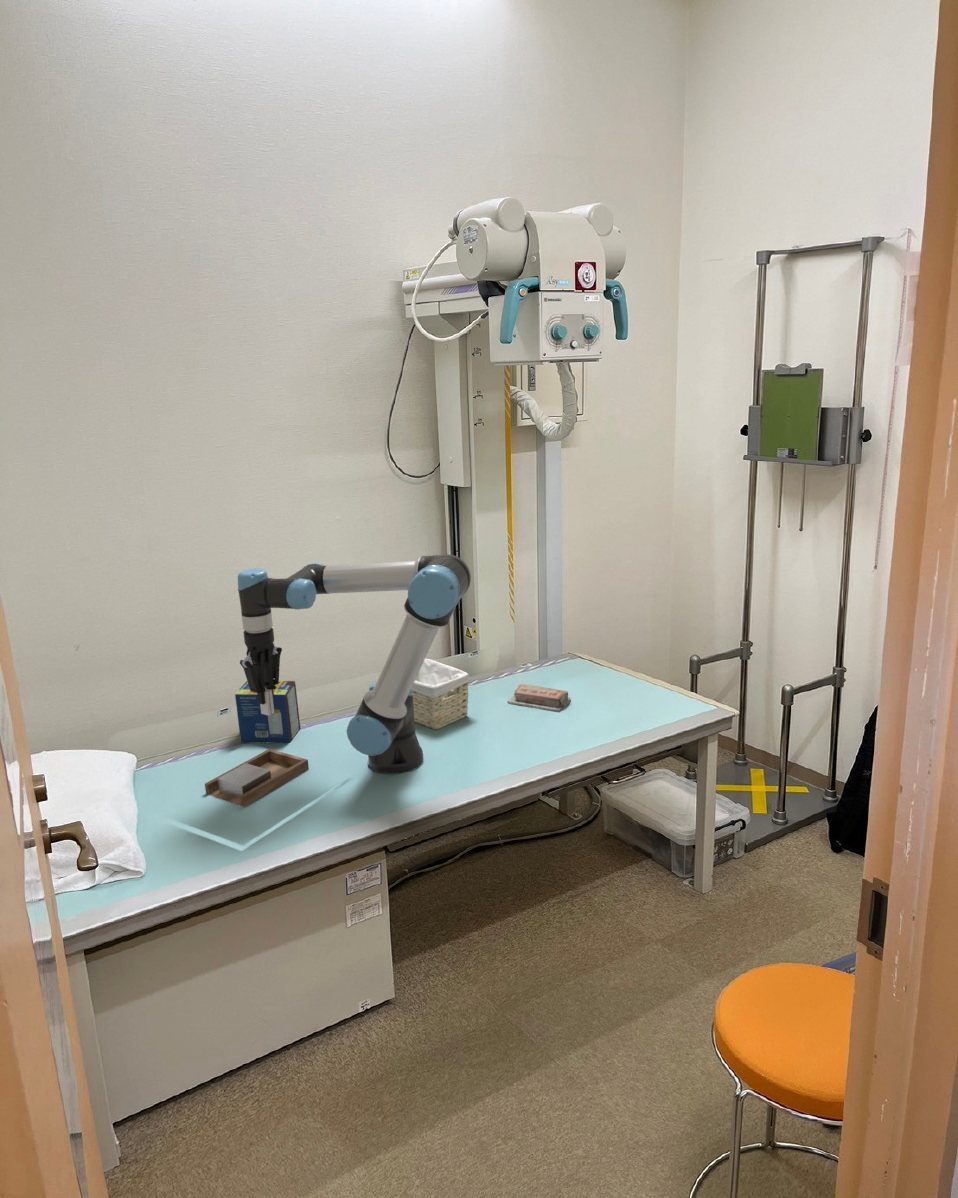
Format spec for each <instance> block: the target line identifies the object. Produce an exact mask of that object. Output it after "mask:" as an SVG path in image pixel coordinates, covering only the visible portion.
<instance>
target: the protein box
mask: <svg viewBox="0 0 958 1198" xmlns="http://www.w3.org/2000/svg"><path fill="white" fill-rule="evenodd" d="M275 686H276V689H273V692H274V699H273V705H274V713H273V714H271V715H269V716H268V715H264V714H261V707H260V704H259V702H258V695H257V693H255V692H251V691H250V688H249V685H248V681H245V683H243V685H242V686H241V687H240V688H238V690H237V691H236V692H235V693H234V697H235V707H236V713H237V721H238V731H239V738H240V743H247V742H254V743H255V742H260V743H263V742H264V743H263V744H267V742H268V744H291V743H292V741H293V739H294V738H295V736H296V735H297V734H298V732H299V730H300V729H301V722H300V715H299V714H300V713H299V703H298V694H297V685H296V681H295V680H286V681H284V680H279V683H278V684H276V685H275ZM265 688H266V687H265ZM254 743H253V744H254ZM260 743H259V744H260ZM255 744H256V743H255Z"/></svg>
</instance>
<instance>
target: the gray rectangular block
mask: <svg viewBox="0 0 958 1198" xmlns="http://www.w3.org/2000/svg"><path fill="white" fill-rule="evenodd" d="M270 778H271V772H270V770H267V769H264V768H261V767H257V766H254V765H251V764H247V763H245V764H243V765H242V766H240V767H238V768H236V769H234V770H232V771H231V772H229V773H227V774H225V775H223V776H221V777H219V778H218V779H217V780H218V788H219V793H222V794H225V795H228V796H231V797H234V798H237V799H240V800H241V795H243V794H244V793H246V792H248V791H250V790H251V789H253V788H255V787H257V786H258V785H260V784H262V783H263V782H265V781H267V780H269V779H270Z"/></svg>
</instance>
